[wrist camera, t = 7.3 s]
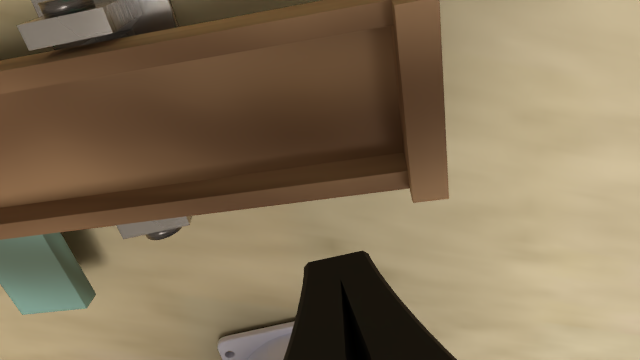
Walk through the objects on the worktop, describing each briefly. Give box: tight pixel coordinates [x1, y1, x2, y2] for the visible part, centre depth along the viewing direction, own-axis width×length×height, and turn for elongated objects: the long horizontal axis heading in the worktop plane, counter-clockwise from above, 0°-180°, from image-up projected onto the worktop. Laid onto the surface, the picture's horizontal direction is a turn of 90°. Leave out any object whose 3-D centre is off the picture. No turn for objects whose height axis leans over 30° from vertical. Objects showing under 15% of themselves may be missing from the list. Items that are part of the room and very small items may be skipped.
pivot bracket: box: [16, 0, 192, 240], centre depth 16 cm, size 9×4×4 cm, turn 10°
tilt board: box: [0, 0, 449, 315], centre depth 15 cm, size 10×20×3 cm, turn 100°
